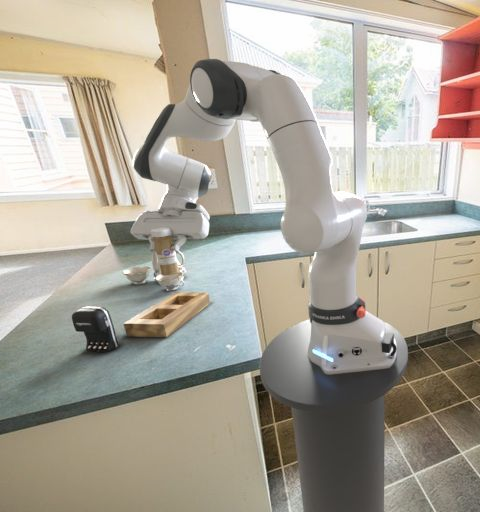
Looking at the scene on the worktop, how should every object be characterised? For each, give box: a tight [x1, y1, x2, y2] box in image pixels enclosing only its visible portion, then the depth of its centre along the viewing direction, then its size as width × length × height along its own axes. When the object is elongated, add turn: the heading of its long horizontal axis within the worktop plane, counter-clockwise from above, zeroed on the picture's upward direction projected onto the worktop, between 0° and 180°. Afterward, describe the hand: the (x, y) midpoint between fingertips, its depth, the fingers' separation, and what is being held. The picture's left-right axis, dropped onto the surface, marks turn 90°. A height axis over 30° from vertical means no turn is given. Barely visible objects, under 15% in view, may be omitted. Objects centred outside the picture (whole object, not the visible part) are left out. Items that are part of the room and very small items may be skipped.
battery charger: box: [71, 306, 120, 353], centre depth 73 cm, size 7×4×11 cm, turn 87°
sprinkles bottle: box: [151, 228, 179, 276], centre depth 85 cm, size 5×5×13 cm
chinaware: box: [122, 250, 188, 292], centre depth 114 cm, size 28×17×17 cm, turn 76°
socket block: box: [123, 291, 211, 338], centre depth 89 cm, size 11×20×4 cm, turn 178°
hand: (164, 250), depth 84 cm, fingers closed on sprinkles bottle, 4 cm apart
